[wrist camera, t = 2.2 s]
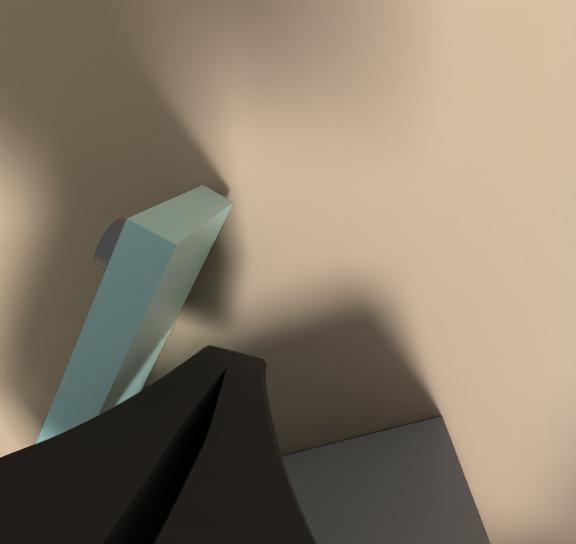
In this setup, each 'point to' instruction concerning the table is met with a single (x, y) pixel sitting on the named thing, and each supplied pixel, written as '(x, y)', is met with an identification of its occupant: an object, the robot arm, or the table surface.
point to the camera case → (387, 489)
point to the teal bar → (135, 303)
